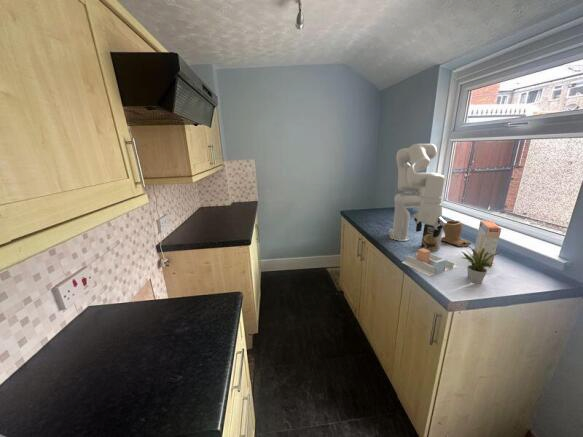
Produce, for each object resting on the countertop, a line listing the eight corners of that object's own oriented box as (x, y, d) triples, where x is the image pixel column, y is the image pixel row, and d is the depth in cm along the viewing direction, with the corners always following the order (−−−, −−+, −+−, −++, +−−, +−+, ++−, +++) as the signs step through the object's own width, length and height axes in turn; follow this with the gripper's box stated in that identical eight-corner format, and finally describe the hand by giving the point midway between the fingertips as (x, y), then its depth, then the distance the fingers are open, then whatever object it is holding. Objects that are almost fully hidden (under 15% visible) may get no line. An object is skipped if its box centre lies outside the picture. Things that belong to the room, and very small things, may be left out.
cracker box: (492, 266, 119) (502, 228, 114) (478, 264, 122) (486, 226, 116) (485, 256, 131) (493, 220, 126) (472, 254, 134) (480, 219, 128)
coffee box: (420, 249, 142) (423, 224, 138) (423, 246, 147) (426, 221, 142) (437, 253, 136) (441, 227, 132) (439, 249, 141) (443, 224, 136)
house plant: (486, 274, 112) (493, 243, 108) (504, 290, 99) (513, 255, 95) (453, 271, 116) (459, 241, 111) (466, 286, 103) (473, 252, 98)
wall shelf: (401, 263, 124) (402, 251, 122) (428, 256, 133) (430, 244, 131) (428, 277, 110) (430, 264, 108) (457, 268, 119) (460, 255, 117)
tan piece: (435, 240, 155) (439, 219, 151) (449, 238, 159) (453, 217, 154) (457, 249, 141) (461, 225, 137) (471, 246, 145) (476, 223, 141)
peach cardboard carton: (416, 263, 122) (418, 249, 120) (421, 261, 124) (423, 248, 122) (422, 266, 119) (425, 252, 117) (428, 265, 120) (430, 250, 118)
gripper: (410, 198, 118) (406, 230, 123) (444, 204, 103) (438, 240, 108) (421, 196, 121) (416, 228, 126) (455, 203, 106) (448, 238, 111)
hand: (426, 233), depth 117 cm, fingers open, 8 cm apart
